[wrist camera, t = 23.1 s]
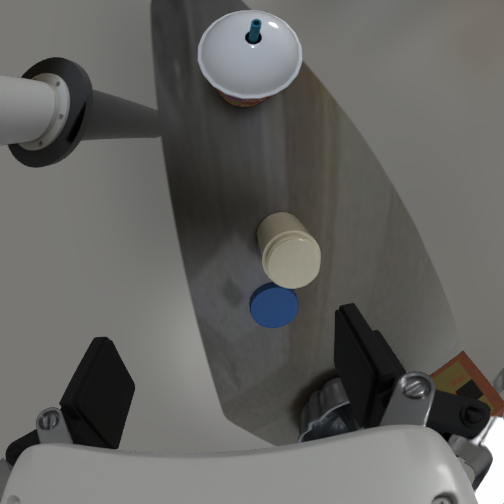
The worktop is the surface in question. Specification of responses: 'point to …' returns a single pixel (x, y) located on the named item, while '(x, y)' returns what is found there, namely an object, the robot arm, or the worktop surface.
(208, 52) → the smoothie
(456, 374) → the box
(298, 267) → the jam jar
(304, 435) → the bundt pan
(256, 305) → the jam lid
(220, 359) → the worktop surface
